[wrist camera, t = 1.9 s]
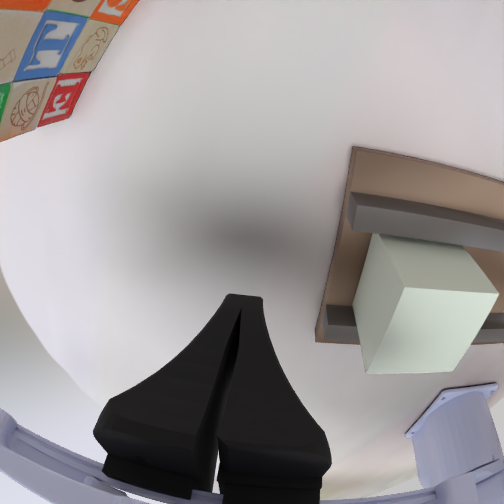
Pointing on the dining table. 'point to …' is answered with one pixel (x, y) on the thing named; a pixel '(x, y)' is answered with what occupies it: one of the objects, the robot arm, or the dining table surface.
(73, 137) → the dining table surface
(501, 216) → the chute
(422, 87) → the dining table surface
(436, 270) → the sage block
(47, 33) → the stack of blocks
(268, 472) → the robot arm
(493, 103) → the dining table surface
